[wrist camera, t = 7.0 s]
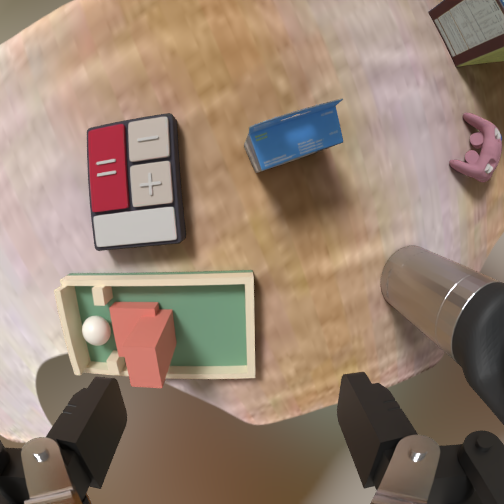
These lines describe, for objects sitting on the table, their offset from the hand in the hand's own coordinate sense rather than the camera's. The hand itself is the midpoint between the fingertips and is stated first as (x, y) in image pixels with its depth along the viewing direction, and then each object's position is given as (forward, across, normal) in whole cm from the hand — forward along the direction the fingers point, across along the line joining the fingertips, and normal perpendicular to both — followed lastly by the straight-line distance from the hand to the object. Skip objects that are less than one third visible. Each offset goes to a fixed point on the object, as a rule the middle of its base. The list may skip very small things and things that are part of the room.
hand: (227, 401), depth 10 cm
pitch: (+29, +11, +10) cm, 33 cm away
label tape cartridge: (+30, -6, -11) cm, 33 cm away
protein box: (+30, -39, -34) cm, 60 cm away
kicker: (+28, +12, +10) cm, 32 cm away
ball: (+26, +19, +10) cm, 34 cm away
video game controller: (+30, -35, -14) cm, 48 cm away
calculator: (+30, +12, -8) cm, 33 cm away
